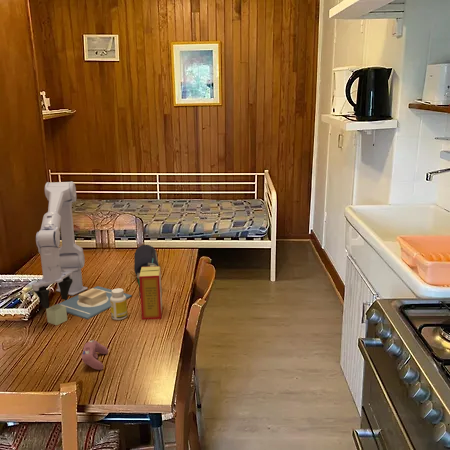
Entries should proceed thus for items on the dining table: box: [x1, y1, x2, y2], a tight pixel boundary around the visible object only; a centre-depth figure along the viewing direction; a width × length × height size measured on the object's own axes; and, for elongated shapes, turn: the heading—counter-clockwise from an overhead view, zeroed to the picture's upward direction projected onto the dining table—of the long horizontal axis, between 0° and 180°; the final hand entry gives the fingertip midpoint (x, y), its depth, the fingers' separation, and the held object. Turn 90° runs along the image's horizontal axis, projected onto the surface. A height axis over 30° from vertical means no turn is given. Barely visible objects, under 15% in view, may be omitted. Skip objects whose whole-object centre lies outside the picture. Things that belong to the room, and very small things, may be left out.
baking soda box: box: [139, 265, 163, 321], centre depth 162 cm, size 10×6×16 cm
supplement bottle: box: [110, 287, 128, 321], centre depth 161 cm, size 5×5×10 cm
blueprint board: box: [58, 285, 132, 320], centre depth 173 cm, size 18×22×4 cm
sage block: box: [45, 303, 68, 326], centre depth 159 cm, size 4×4×6 cm
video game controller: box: [81, 339, 109, 371], centre depth 134 cm, size 10×5×7 cm, turn 5°
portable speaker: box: [133, 244, 160, 276], centre depth 202 cm, size 25×10×10 cm, turn 11°
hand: (55, 303), depth 158 cm, fingers open, 7 cm apart
